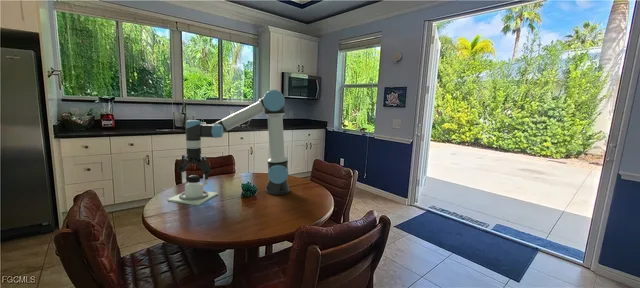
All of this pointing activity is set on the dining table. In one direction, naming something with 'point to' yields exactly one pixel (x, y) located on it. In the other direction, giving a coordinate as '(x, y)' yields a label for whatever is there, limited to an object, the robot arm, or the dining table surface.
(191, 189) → the medicine bottle
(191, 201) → the socket board
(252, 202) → the dining table surface
